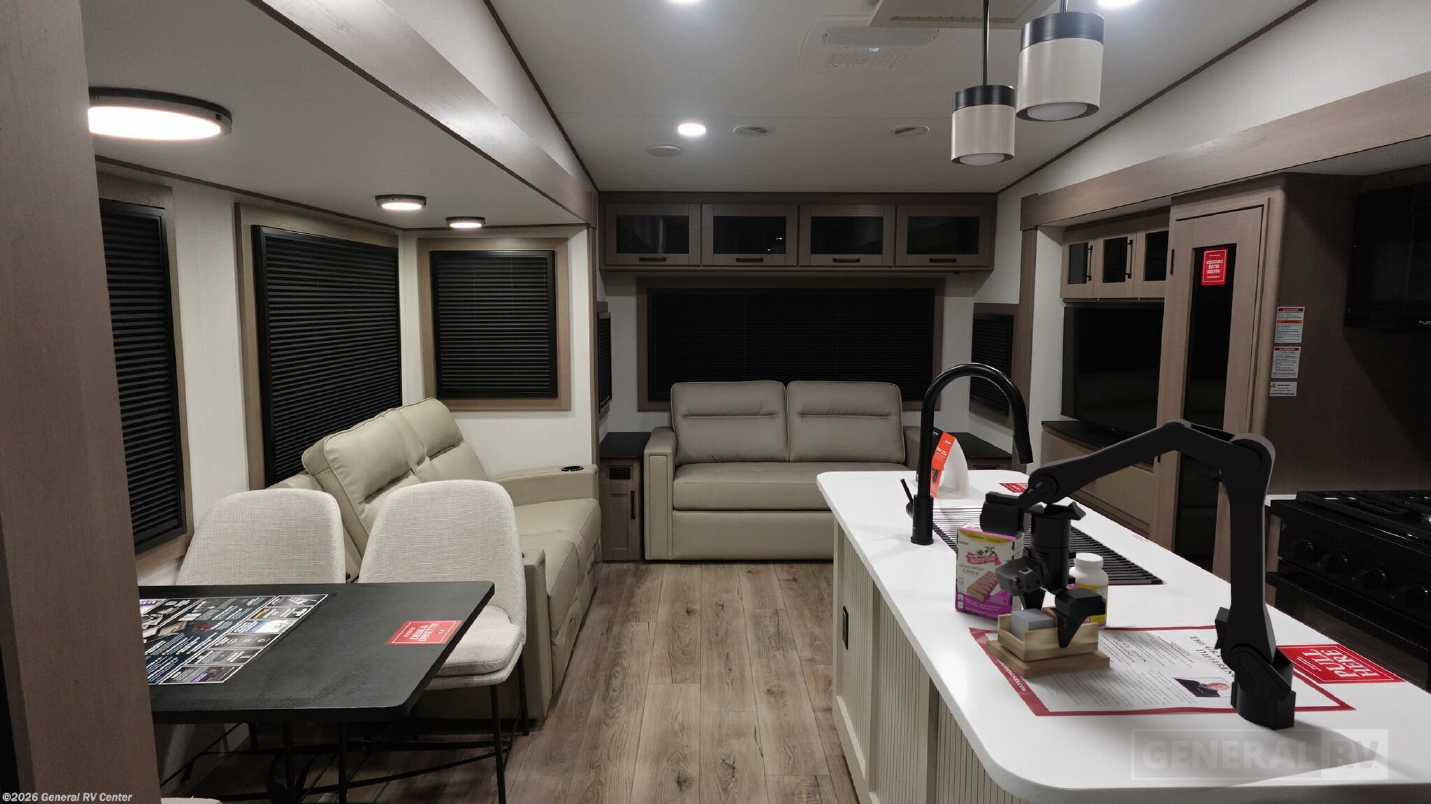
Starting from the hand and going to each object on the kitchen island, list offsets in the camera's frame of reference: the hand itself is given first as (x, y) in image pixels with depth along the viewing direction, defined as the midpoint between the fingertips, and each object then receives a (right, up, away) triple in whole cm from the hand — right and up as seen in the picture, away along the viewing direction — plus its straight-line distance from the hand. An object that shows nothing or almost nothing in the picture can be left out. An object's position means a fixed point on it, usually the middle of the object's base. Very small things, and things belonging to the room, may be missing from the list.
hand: (1047, 637), depth 117 cm
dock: (0, -5, +1) cm, 5 cm away
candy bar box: (-1, -3, +22) cm, 22 cm away
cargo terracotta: (+3, 0, +1) cm, 3 cm away
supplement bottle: (+14, -3, +16) cm, 21 cm away
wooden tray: (0, -1, 0) cm, 1 cm away
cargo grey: (-3, 0, -1) cm, 3 cm away
